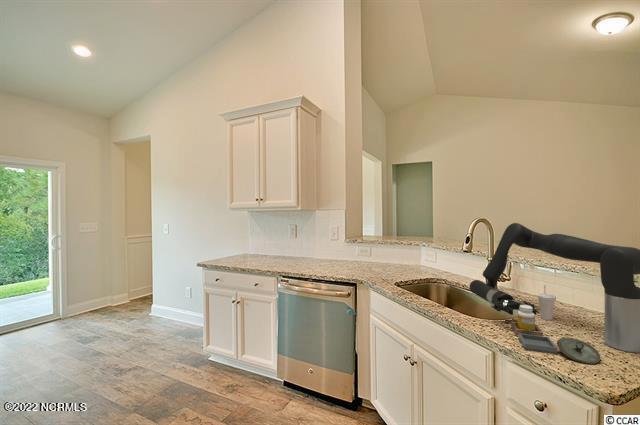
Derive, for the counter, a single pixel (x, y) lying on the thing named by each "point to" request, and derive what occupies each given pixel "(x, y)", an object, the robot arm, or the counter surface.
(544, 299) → the smoothie
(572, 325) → the counter surface
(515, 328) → the collar block
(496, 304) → the robot arm
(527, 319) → the supplement bottle
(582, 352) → the lid
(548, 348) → the tray
